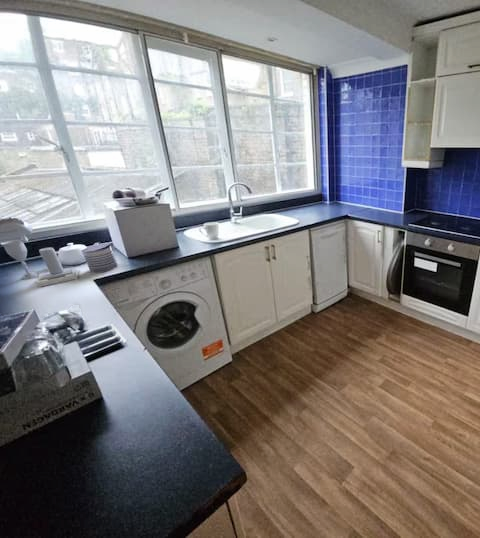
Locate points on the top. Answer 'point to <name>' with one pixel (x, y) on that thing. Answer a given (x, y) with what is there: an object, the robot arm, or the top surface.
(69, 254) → the teapot
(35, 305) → the top surface
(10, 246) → the chalice
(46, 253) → the beverage can
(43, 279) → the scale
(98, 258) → the grey ribbed cylinder
